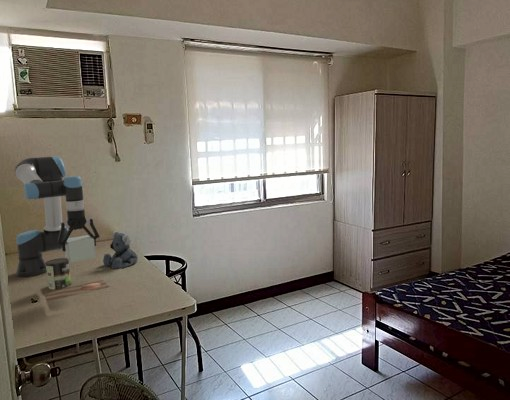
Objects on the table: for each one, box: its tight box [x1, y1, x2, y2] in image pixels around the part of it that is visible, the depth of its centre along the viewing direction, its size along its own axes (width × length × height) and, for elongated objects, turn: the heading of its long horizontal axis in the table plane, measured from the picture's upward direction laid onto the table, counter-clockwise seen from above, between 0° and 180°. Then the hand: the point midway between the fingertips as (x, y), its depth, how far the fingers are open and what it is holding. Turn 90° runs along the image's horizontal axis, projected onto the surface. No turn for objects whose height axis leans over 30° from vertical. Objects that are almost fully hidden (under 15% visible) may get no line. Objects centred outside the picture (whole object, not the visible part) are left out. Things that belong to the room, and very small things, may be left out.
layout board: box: [43, 280, 110, 302], centre depth 193 cm, size 13×27×2 cm, turn 124°
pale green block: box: [66, 234, 97, 263], centre depth 192 cm, size 11×11×9 cm
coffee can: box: [45, 257, 72, 290], centre depth 199 cm, size 10×10×14 cm
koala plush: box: [102, 230, 139, 270], centre depth 237 cm, size 17×18×20 cm
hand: (80, 255), depth 192 cm, fingers closed on pale green block, 11 cm apart
